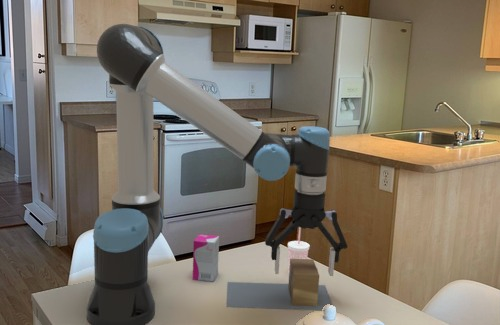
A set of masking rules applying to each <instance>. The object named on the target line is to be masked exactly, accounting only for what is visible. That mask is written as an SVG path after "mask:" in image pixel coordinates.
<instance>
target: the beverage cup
mask: <svg viewBox="0 0 500 325" xmlns="http://www.w3.org/2000/svg"><path fill="white" fill-rule="evenodd" d="M301 229H302V228H300V227H298V236H297V237H298V238H297V240H292V241H288V242H287V249H288V253H287V254H288V257H287V258H288V260H287V261H288V264H287V266H288V268H287V269H288V270H287V272H288V274H289V269H290V259H308V255H309V250H310V247H311V245H310V244H309V243H307V242H306V241H302V240H301Z"/></svg>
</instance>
